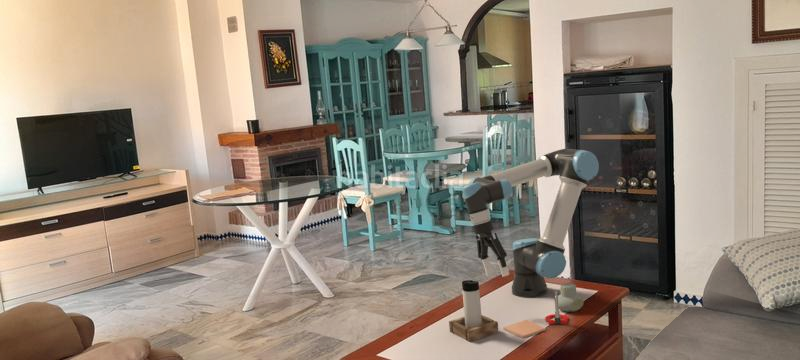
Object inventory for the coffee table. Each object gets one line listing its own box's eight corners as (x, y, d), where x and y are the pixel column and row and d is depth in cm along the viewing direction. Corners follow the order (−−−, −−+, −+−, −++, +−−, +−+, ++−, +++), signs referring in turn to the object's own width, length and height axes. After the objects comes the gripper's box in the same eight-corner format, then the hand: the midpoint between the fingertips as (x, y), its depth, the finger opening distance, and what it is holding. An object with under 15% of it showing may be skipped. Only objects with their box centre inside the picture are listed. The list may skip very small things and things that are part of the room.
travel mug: (461, 333, 240) (457, 281, 237) (472, 327, 244) (468, 276, 242) (475, 336, 235) (471, 284, 233) (485, 330, 240) (481, 279, 237)
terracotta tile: (526, 321, 245) (526, 319, 245) (545, 330, 235) (545, 328, 235) (503, 329, 240) (503, 327, 240) (522, 338, 230) (522, 336, 230)
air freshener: (570, 303, 260) (569, 279, 258) (587, 308, 253) (585, 283, 252) (551, 310, 254) (550, 286, 252) (568, 315, 247) (566, 290, 246)
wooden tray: (477, 322, 249) (476, 312, 248) (498, 332, 237) (497, 322, 237) (449, 331, 243) (448, 321, 242) (469, 341, 231) (468, 331, 231)
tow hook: (544, 317, 249) (546, 325, 240) (542, 284, 248) (544, 291, 239) (567, 316, 248) (569, 324, 239) (565, 284, 246) (567, 290, 237)
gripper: (460, 226, 259) (476, 277, 258) (487, 223, 235) (504, 279, 235) (476, 221, 261) (492, 271, 261) (504, 217, 238) (521, 272, 237)
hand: (497, 275), depth 248 cm, fingers open, 13 cm apart
